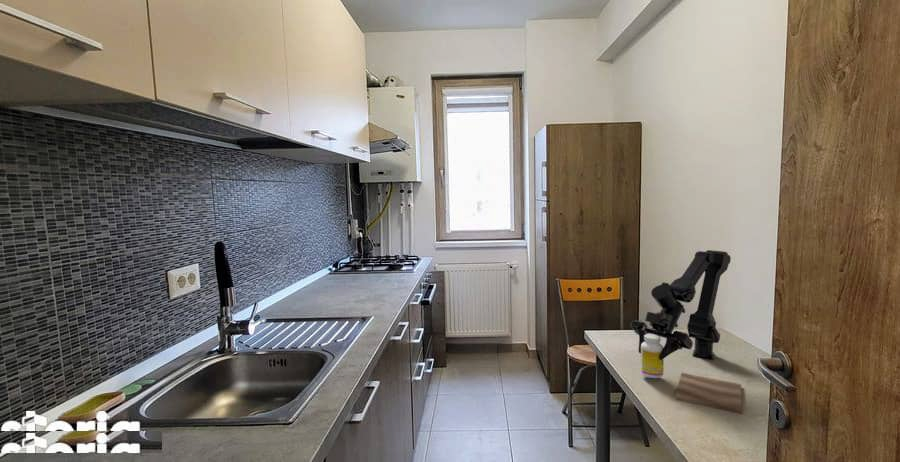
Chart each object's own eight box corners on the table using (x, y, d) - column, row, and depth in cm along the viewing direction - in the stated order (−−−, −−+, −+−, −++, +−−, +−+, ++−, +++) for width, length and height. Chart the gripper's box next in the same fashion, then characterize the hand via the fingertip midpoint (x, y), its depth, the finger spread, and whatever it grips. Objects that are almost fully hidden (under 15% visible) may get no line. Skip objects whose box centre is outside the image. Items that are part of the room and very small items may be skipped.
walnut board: (681, 375, 137) (681, 372, 137) (740, 387, 128) (740, 384, 128) (675, 398, 122) (675, 395, 122) (741, 413, 113) (741, 410, 113)
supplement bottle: (666, 379, 131) (666, 340, 130) (643, 378, 133) (643, 339, 132) (659, 370, 138) (660, 333, 137) (638, 369, 139) (638, 332, 138)
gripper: (633, 296, 143) (613, 334, 138) (688, 308, 127) (668, 351, 123) (646, 314, 148) (627, 352, 143) (701, 328, 132) (682, 370, 128)
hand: (649, 355), depth 134 cm, fingers closed on supplement bottle, 7 cm apart
